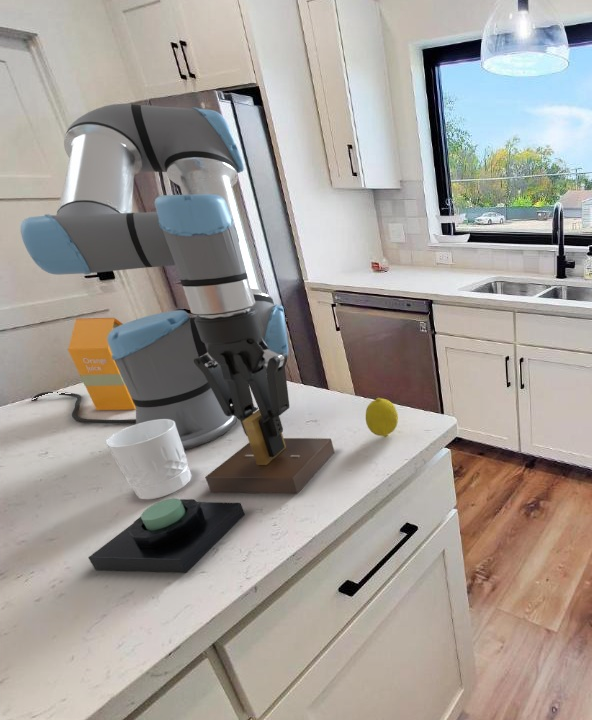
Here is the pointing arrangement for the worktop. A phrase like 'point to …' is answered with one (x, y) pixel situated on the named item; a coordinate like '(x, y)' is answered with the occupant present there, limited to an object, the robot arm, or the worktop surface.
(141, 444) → the white cup
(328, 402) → the worktop surface
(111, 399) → the orange juice
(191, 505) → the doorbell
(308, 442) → the plate
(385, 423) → the lemon
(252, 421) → the lock turn
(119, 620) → the worktop surface
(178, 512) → the bell button
